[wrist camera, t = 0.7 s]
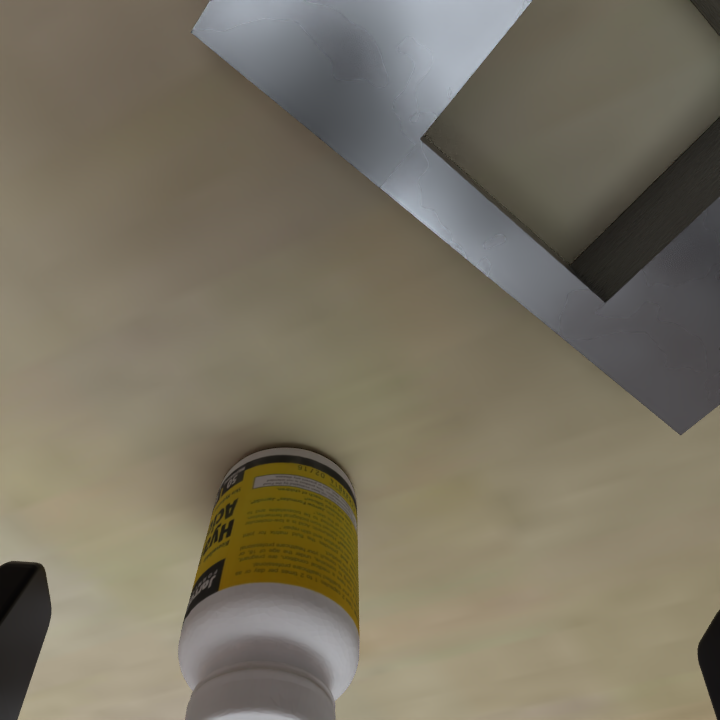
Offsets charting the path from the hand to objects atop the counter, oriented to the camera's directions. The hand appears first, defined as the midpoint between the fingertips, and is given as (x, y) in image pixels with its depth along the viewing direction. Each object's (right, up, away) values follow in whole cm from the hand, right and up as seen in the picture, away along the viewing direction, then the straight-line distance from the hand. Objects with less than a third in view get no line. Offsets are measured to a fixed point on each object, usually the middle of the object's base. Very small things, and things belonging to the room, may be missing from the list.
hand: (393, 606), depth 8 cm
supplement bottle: (-3, -2, +16) cm, 17 cm away
